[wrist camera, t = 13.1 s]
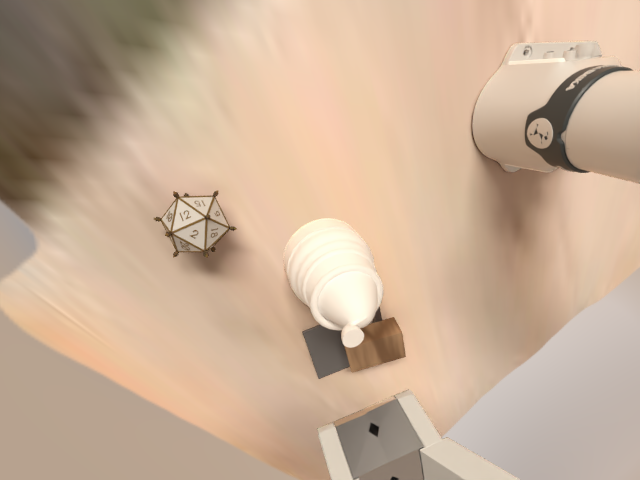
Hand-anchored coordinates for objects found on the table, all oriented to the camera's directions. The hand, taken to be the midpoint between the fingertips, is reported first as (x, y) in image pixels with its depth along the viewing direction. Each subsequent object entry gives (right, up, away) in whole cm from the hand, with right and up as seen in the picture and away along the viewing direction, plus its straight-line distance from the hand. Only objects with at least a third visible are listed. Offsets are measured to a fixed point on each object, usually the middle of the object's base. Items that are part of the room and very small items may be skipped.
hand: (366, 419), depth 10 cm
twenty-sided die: (-18, +9, +35) cm, 41 cm away
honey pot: (-1, +3, +44) cm, 44 cm away
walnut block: (+13, -12, +51) cm, 53 cm away
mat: (+3, -14, +52) cm, 54 cm away
